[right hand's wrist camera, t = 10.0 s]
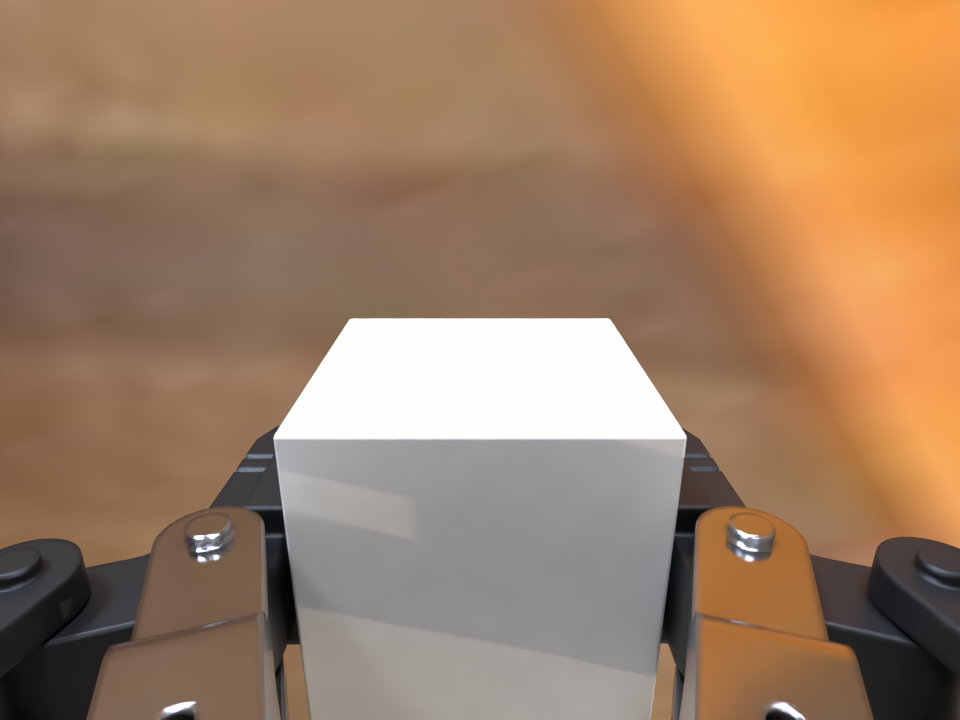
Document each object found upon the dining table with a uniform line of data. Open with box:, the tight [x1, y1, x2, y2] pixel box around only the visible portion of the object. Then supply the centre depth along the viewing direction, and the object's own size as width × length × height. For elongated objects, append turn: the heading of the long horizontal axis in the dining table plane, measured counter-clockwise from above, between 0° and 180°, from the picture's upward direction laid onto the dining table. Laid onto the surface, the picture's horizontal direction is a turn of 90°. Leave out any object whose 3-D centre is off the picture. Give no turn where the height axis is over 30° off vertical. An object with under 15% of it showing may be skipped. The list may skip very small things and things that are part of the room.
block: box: [273, 319, 687, 720], centre depth 10 cm, size 5×5×4 cm
